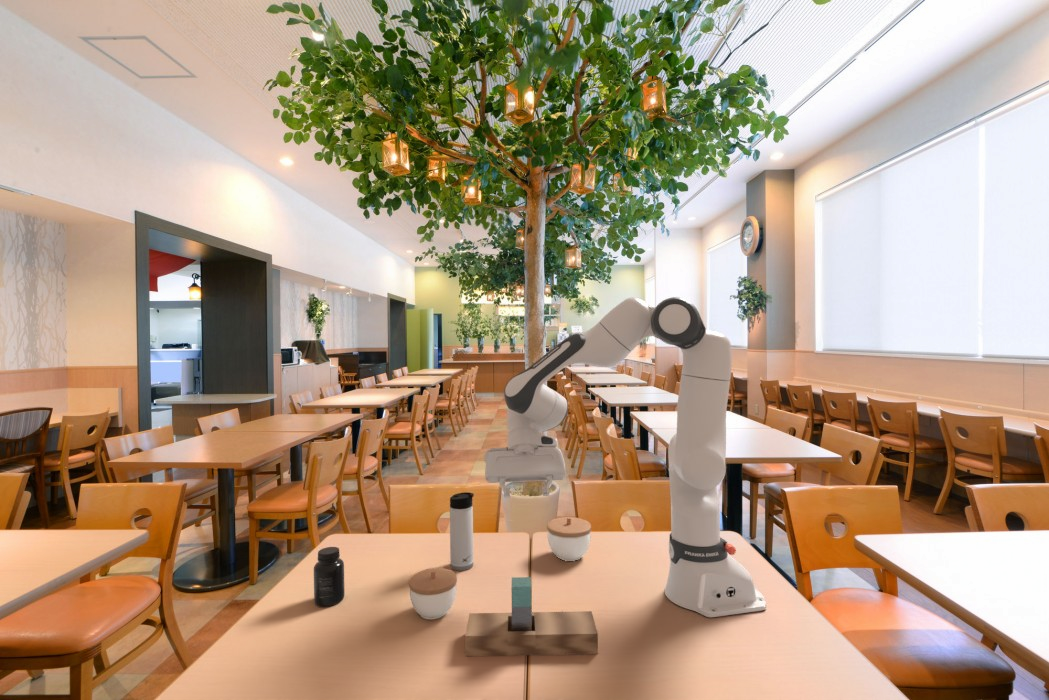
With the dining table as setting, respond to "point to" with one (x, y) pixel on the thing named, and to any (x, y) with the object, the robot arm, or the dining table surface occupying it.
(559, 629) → the wooden peg hole block
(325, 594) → the supplement bottle
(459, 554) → the travel mug
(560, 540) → the lidded bowl
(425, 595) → the lidded jar
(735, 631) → the dining table surface
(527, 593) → the teal square peg
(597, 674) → the dining table surface
